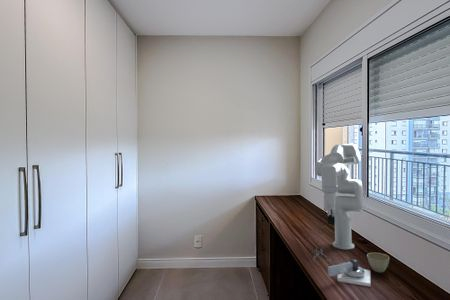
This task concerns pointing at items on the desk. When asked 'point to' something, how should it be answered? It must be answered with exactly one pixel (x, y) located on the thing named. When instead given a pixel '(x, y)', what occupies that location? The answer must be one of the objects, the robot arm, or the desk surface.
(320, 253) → the pliers
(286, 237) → the desk surface
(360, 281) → the dial plate
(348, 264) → the dial
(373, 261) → the flower pot
